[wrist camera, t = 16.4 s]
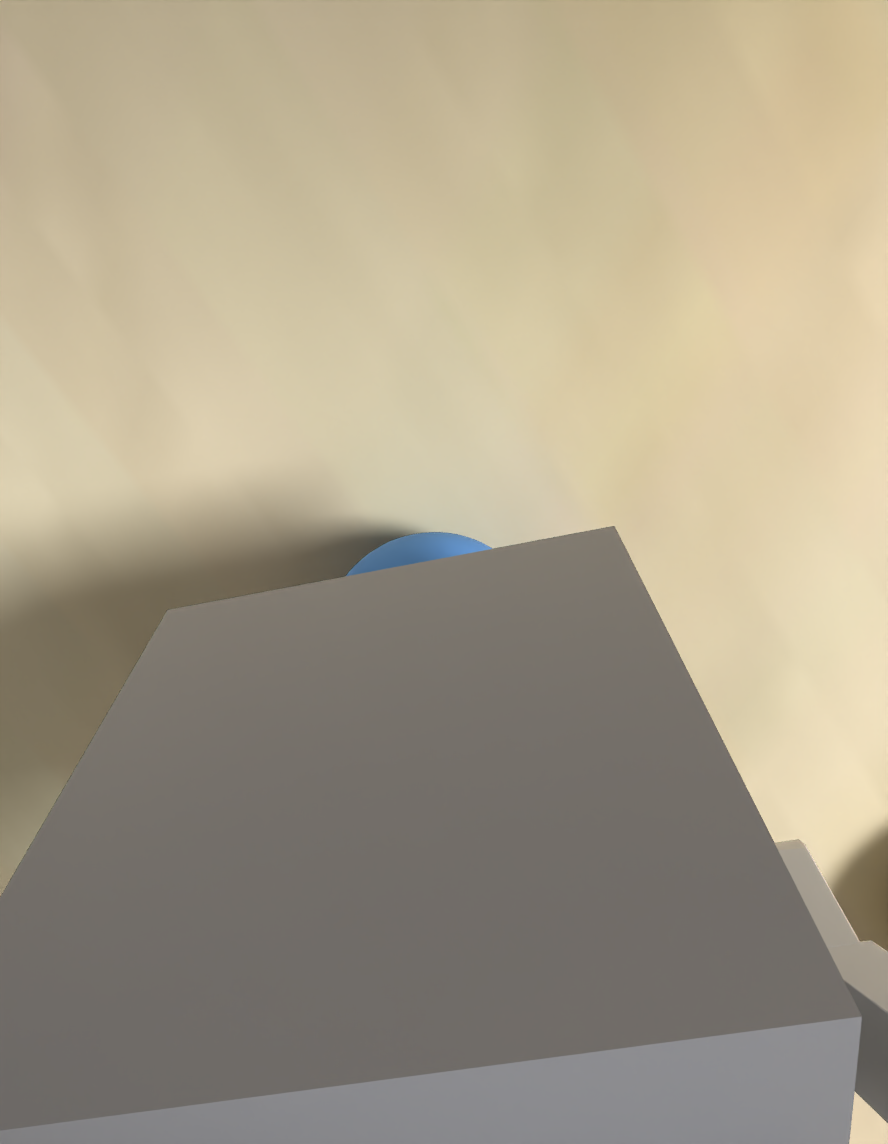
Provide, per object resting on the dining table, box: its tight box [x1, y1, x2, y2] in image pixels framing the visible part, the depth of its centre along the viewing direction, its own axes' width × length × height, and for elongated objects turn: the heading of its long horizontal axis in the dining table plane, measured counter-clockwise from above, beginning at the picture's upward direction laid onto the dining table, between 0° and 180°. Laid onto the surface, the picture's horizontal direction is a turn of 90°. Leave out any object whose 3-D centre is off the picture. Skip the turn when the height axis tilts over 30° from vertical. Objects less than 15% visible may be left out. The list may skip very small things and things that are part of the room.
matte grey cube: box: [0, 526, 862, 1144], centre depth 11 cm, size 7×7×8 cm
